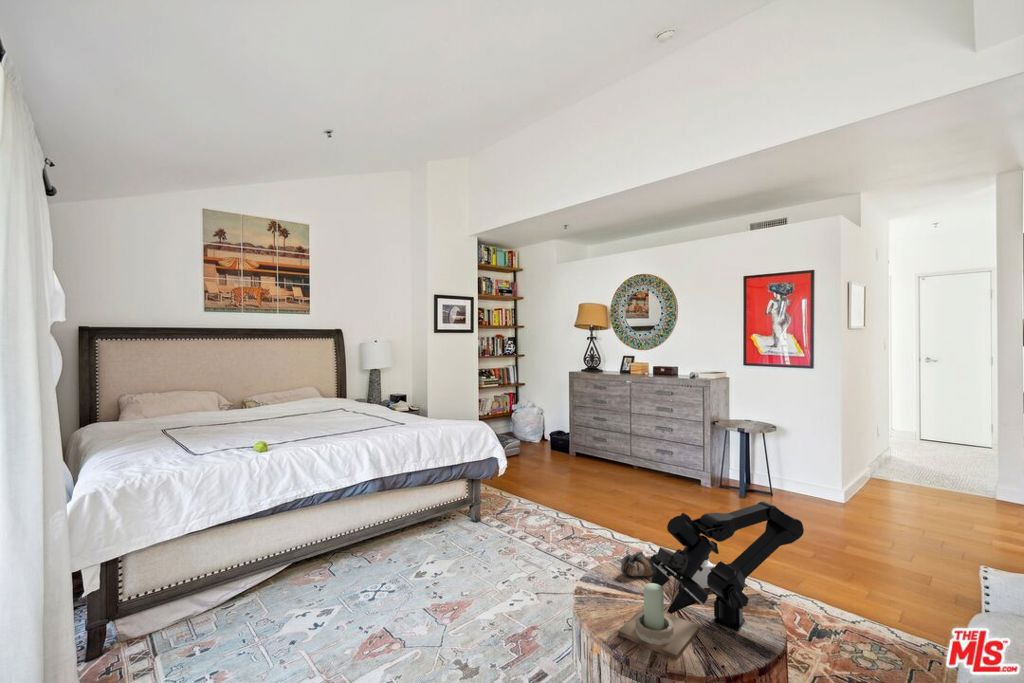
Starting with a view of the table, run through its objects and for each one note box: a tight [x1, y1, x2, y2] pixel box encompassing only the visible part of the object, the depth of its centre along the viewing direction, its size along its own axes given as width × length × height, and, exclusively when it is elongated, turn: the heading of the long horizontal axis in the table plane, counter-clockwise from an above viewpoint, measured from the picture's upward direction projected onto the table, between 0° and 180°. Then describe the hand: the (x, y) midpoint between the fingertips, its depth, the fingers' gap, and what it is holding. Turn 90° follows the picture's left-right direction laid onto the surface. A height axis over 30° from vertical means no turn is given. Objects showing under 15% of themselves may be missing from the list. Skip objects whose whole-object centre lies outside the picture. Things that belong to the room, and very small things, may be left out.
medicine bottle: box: [692, 554, 715, 588], centre depth 154 cm, size 7×7×12 cm
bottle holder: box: [617, 605, 701, 661], centre depth 129 cm, size 16×16×4 cm
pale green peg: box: [643, 582, 665, 631], centre depth 126 cm, size 5×5×12 cm
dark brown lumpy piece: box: [620, 550, 654, 577], centre depth 160 cm, size 12×7×10 cm
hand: (658, 603), depth 127 cm, fingers open, 9 cm apart
